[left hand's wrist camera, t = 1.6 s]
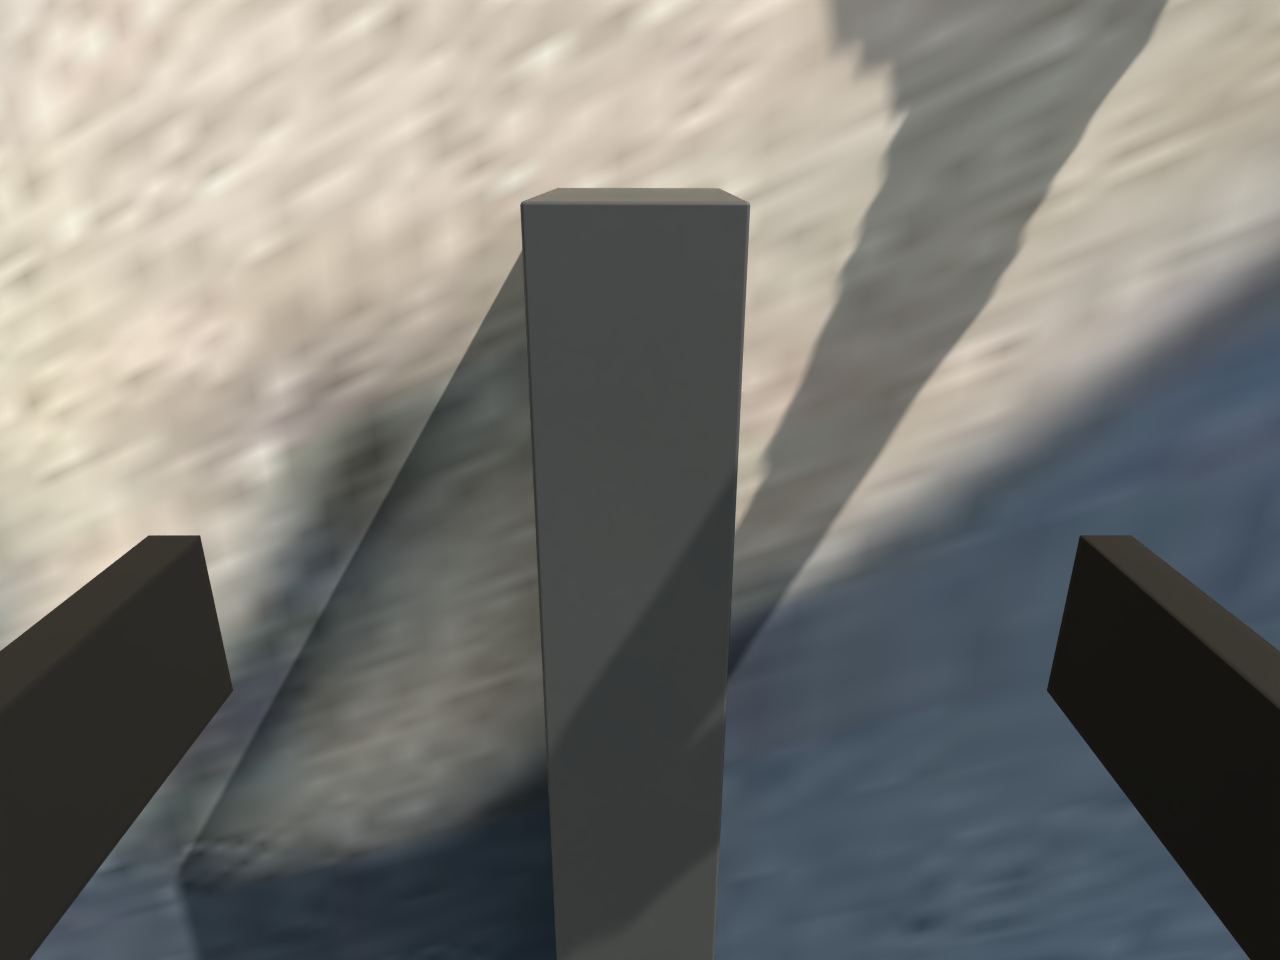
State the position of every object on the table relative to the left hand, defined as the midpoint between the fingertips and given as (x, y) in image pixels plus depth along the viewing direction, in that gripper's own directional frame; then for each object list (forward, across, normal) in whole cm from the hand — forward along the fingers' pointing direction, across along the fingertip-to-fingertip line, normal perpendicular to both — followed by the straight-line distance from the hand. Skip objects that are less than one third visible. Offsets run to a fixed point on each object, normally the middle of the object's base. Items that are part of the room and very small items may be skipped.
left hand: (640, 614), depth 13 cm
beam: (+15, 0, -26) cm, 30 cm away
